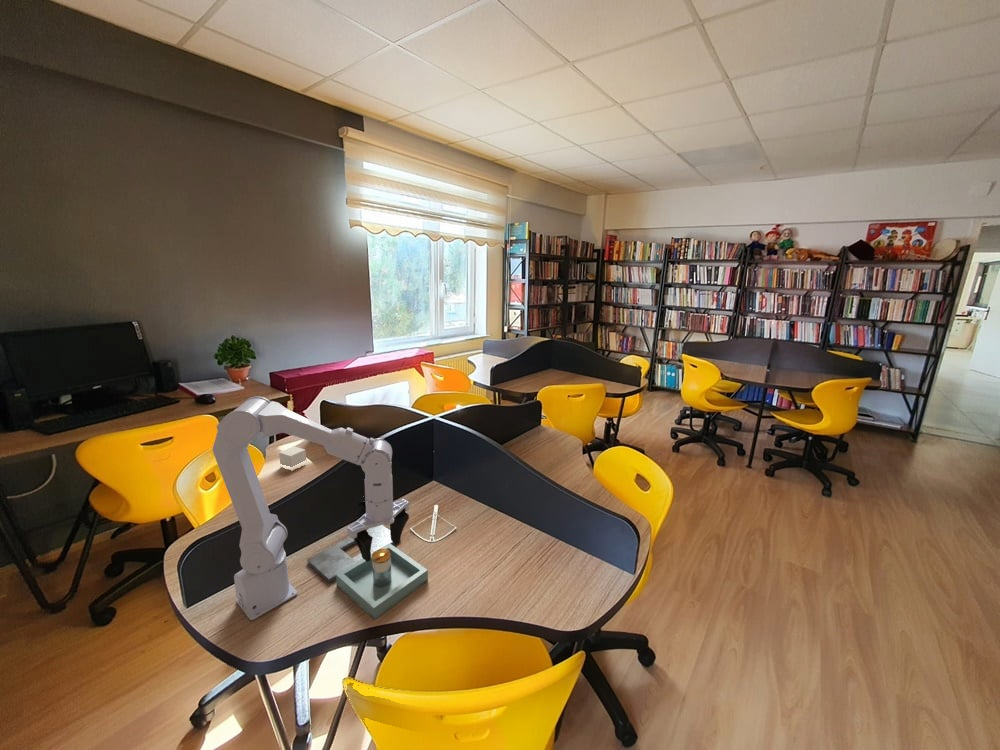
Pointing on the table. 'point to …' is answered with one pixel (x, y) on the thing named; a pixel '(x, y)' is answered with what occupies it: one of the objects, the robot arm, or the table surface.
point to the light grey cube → (292, 456)
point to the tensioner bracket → (338, 560)
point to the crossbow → (433, 527)
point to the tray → (381, 599)
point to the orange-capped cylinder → (381, 567)
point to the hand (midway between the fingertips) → (381, 550)
